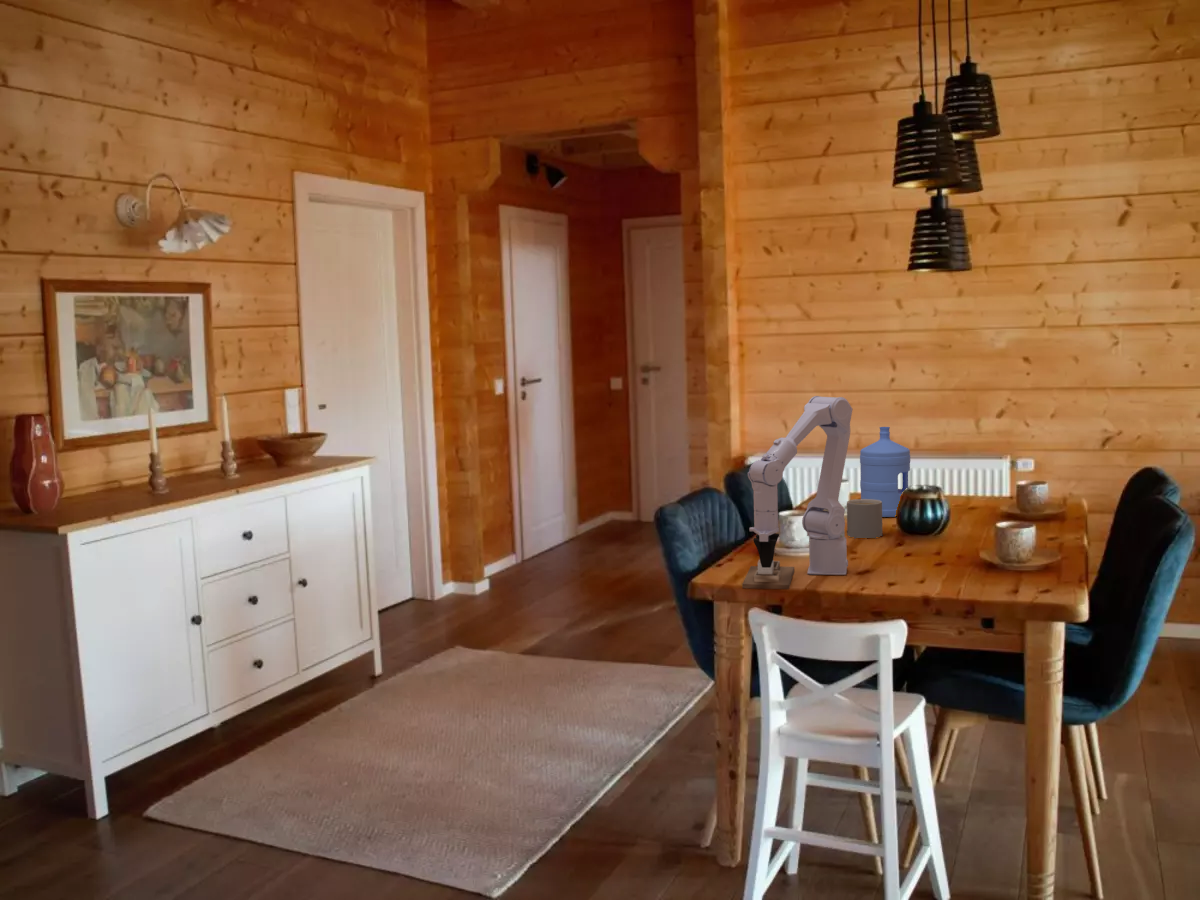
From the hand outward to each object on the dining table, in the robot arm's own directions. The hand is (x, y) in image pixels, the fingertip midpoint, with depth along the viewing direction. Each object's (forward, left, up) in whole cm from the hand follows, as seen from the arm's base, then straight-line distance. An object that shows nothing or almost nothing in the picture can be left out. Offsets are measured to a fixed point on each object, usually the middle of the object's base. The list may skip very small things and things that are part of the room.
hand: (767, 565), depth 276 cm
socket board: (0, -5, -4) cm, 6 cm away
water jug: (-29, -99, -5) cm, 103 cm away
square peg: (0, 0, -3) cm, 3 cm away
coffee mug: (-23, -64, -5) cm, 68 cm away
